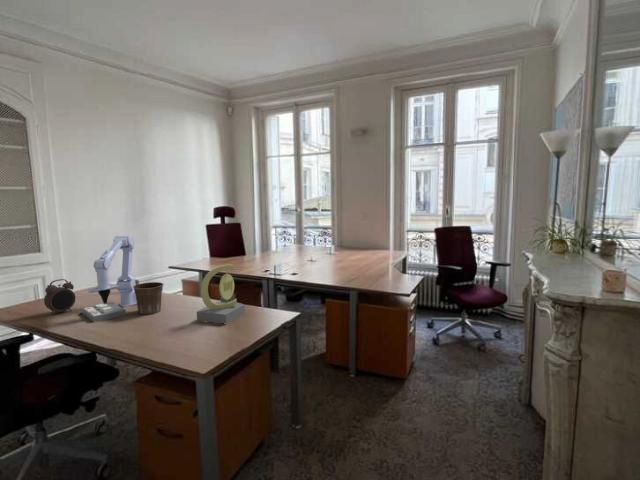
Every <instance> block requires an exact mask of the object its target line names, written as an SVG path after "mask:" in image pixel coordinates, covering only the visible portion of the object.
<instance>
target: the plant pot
mask: <svg viewBox="0 0 640 480" xmlns="http://www.w3.org/2000/svg"><path fill="white" fill-rule="evenodd" d="M133 288H134V292H135V294H136V300H137V304H136V306H137V312H138V314H140V315H150V314H152V315H153V314H156V313H157V314H158V313H160V312H161V310H162V294H163V289H164V283H163V282H158V281H156V282H155V281H153V282H151V281H150V282H149V281H148V282H143V283H138V284H136V285H135V286H133Z"/></svg>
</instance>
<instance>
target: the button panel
mask: <svg viewBox="0 0 640 480" xmlns="http://www.w3.org/2000/svg"><path fill="white" fill-rule="evenodd" d="M103 304H104V303H103ZM105 304H106V305H108V307H111V308H112V312H108V313H103V311H102V310H101V311H100V310H99V308H96V307H95V305H89V306H87V307H86V306H85V307H81V313H82V314H83V315H85V316H86V317H87V318H88V319H89V320H91V322H93V323H97V322H101V321H105V320H111V319H114V318H118V317H124V316H126V315H127V311H126V309H125V308H124V307H122V306H121V305H119V304H116V303H114V302H113V301H110V302H107V303H105ZM105 304H104V305H105Z"/></svg>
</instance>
